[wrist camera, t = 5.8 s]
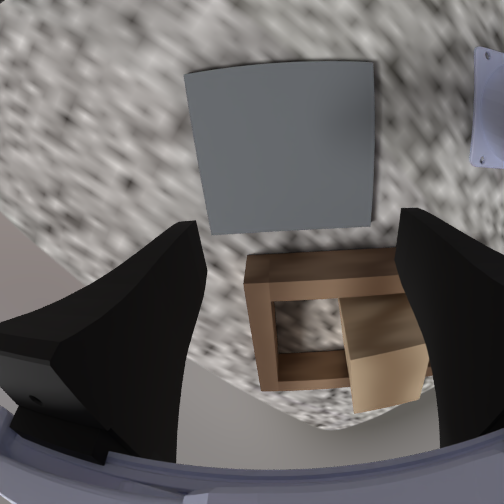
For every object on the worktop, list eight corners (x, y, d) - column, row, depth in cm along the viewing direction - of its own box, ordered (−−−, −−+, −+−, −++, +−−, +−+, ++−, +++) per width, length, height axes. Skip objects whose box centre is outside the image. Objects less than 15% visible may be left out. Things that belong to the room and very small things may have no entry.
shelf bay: (459, 243, 20) (477, 268, 17) (424, 350, 27) (432, 375, 24) (247, 255, 22) (243, 283, 19) (262, 364, 28) (261, 391, 26)
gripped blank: (401, 268, 22) (432, 341, 16) (399, 331, 25) (419, 399, 19) (335, 282, 23) (350, 360, 17) (343, 343, 26) (354, 413, 20)
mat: (370, 62, 14) (372, 62, 14) (368, 222, 20) (370, 226, 19) (185, 74, 15) (183, 74, 15) (212, 231, 21) (211, 235, 20)
